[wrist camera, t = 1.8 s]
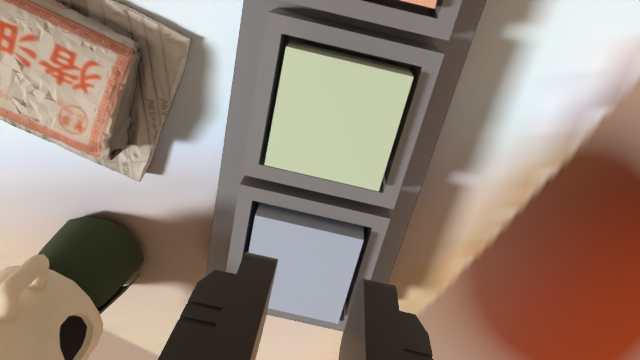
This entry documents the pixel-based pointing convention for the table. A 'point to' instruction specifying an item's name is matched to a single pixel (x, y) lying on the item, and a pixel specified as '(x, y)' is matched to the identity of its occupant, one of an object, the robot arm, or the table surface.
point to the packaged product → (89, 77)
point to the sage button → (336, 115)
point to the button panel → (317, 193)
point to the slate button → (307, 260)
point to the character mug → (65, 291)
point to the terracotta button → (423, 2)
